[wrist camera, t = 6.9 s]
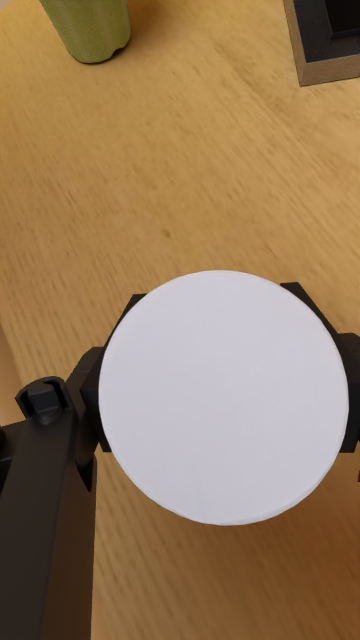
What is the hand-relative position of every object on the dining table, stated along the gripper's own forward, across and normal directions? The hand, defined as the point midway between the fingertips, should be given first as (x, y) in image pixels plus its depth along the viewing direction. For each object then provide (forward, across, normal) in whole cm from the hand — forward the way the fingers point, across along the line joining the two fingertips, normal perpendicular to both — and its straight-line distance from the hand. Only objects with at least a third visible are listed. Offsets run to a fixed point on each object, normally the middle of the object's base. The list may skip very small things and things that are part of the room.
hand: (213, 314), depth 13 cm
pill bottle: (0, 0, -5) cm, 5 cm away
